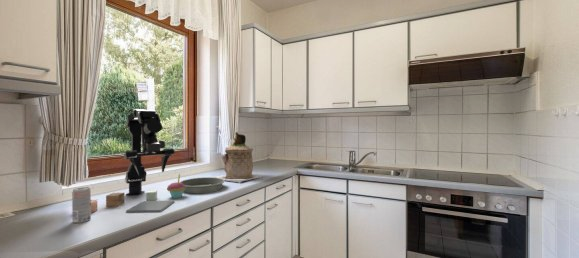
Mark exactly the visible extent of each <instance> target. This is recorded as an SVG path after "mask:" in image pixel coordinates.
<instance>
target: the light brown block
mask: <svg viewBox="0 0 579 258" xmlns="http://www.w3.org/2000/svg"><path fill="white" fill-rule="evenodd" d="M97 211H98V200H97V199H91V214H93V213H96V212H97Z"/></svg>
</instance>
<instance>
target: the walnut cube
mask: <svg viewBox="0 0 579 258" xmlns="http://www.w3.org/2000/svg"><path fill="white" fill-rule="evenodd" d="M124 204H125V192H112V193H109V194H106V195H105V207H107V208H108V207H110V208H111V207H113V208H117V207H120V206H123V205H124Z"/></svg>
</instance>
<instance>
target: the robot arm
mask: <svg viewBox="0 0 579 258" xmlns="http://www.w3.org/2000/svg"><path fill="white" fill-rule="evenodd" d="M161 121H162V118H161V117H160V116H159V113H158V112H157V110H154V109H153V110H152V109H143V108H140V109H139V108H135V109H132V112H131V113H129V114H128V115H127V118H126V123H125V124H126V127H127V131H128V132H129V134H130V136H131V139H130V141H131V142H130V143H131V146H130V147H131V149H130V150H126V151H125V153H123V159H124V160H127V161H128V162H130V164H129V165H128V167H127V171H126V174H125V178H124V182H125V183H126V184H128V192H127V193H125V195H126V196H137V195H141V194H143V193H145V190H143V189H142V187H143V185H142V184H143V182H146V181H147V171H146V169H145V167H144V165H143V164H142V157H146V156H147V157H151V156H162V157H161V173H164V172H165V170H166V169H165V168H166V165H167V162H168V160H169V159H170V158H171V157H172V156H173V155H175V154H176V153H175V149H174V148H173V147H172V148H171V147H170V148H166V142H165V140H163V139H162V140H159V141H158V137H157V134H158V133H159V132H160V131H161V130H162V129H163V124H162V122H161Z"/></svg>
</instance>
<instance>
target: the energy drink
mask: <svg viewBox="0 0 579 258" xmlns="http://www.w3.org/2000/svg"><path fill="white" fill-rule="evenodd" d="M91 193H92V191H91V188H90V187H88V186H87V187H76V188H73V189H72V193H71V197H72V199H71V206H72V208H71V209H72V211H71V214H72V217H71V218H72V221H71V222H72V223H74V224H81V223H87V222H88V221H90V220H91V218H92V217H91V215H92V213H91V200H92V198H91V196H92V195H91Z"/></svg>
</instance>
